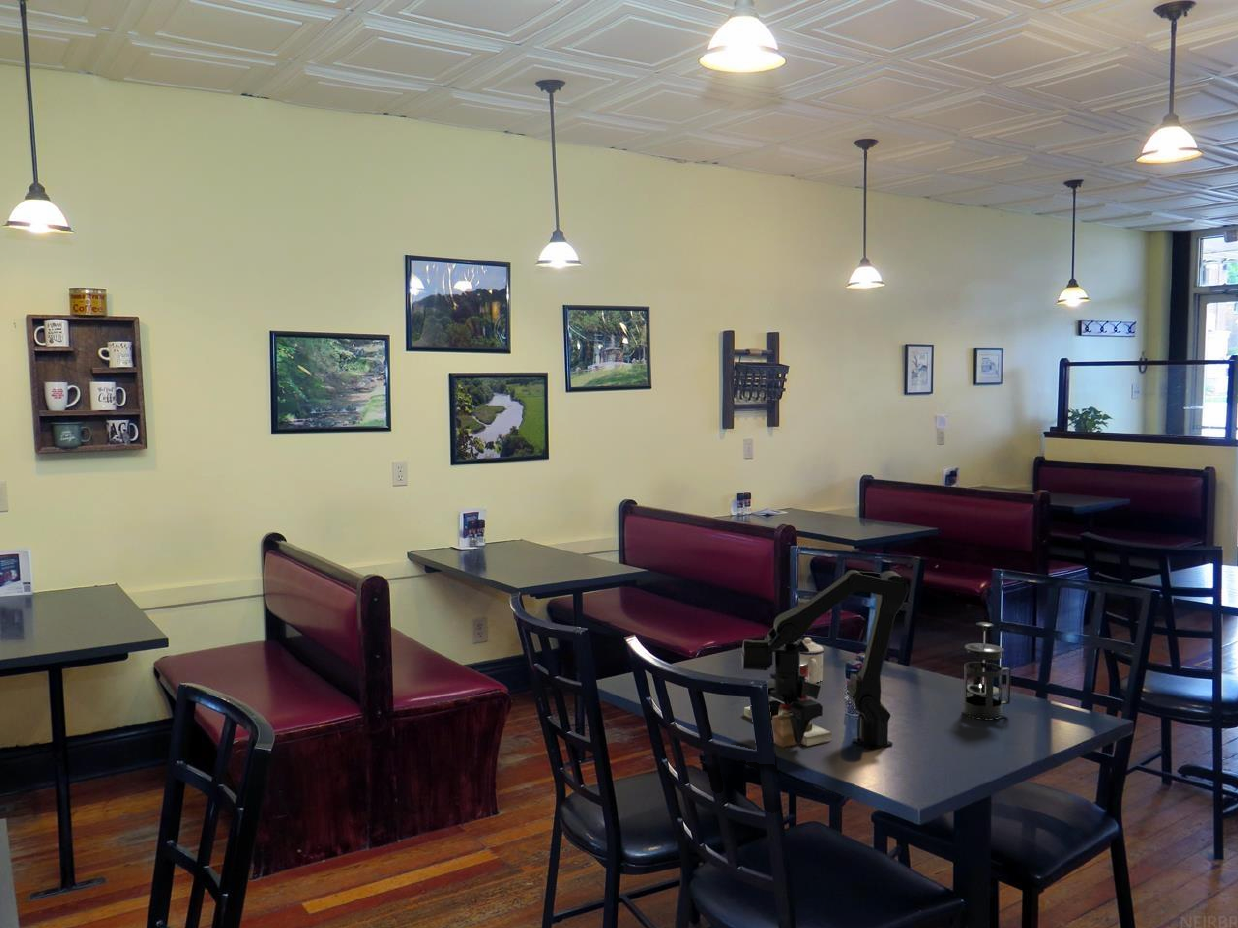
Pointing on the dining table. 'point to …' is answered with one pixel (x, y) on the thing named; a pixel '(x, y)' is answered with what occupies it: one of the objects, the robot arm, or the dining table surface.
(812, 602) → the robot arm
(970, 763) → the dining table surface
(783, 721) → the marking gauge
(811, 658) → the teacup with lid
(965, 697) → the french press
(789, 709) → the soda can
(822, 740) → the maple board
